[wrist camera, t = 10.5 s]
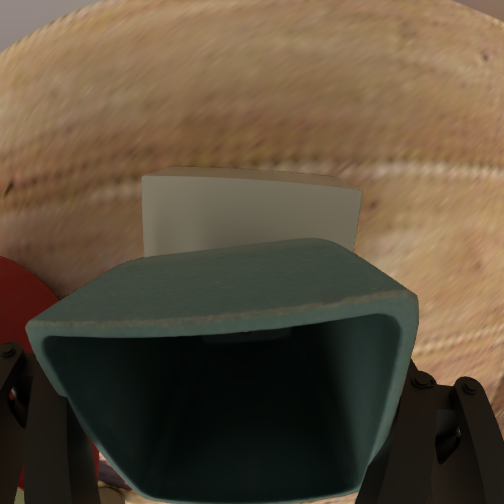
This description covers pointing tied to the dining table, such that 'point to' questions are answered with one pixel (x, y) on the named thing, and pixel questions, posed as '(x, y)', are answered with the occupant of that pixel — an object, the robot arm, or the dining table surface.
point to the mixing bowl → (24, 314)
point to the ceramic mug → (110, 496)
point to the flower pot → (234, 369)
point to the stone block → (243, 208)
